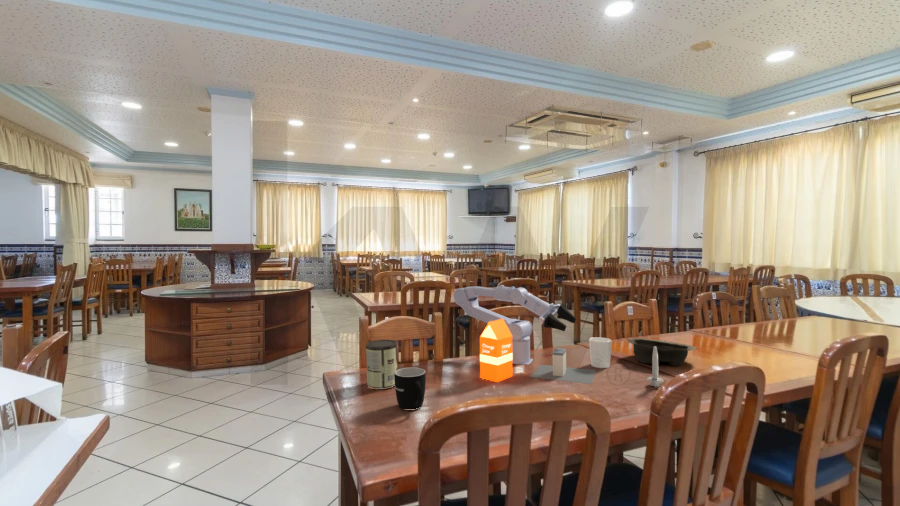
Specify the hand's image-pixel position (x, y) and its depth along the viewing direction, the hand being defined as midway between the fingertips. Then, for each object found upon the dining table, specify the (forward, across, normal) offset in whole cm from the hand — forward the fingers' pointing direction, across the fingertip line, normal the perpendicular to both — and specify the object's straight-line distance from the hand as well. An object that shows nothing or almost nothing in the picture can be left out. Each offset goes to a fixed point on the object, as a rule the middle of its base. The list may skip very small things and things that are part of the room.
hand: (570, 324), depth 157 cm
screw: (+33, -2, +4) cm, 33 cm away
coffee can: (-34, -57, +20) cm, 70 cm away
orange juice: (-10, -27, +16) cm, 33 cm away
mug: (-15, -64, +9) cm, 66 cm away
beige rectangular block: (+5, -10, +14) cm, 18 cm away
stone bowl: (+29, +29, +14) cm, 43 cm away
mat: (+7, -9, +13) cm, 18 cm away
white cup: (+13, +8, +15) cm, 22 cm away
